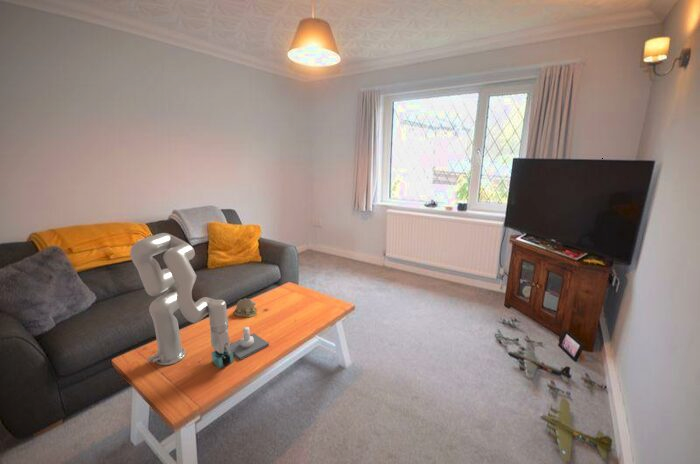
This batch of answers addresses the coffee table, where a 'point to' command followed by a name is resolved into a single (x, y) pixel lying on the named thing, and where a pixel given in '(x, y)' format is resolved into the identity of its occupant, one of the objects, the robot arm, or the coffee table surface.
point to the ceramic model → (245, 308)
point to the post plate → (248, 350)
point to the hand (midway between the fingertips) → (222, 360)
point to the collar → (220, 358)
